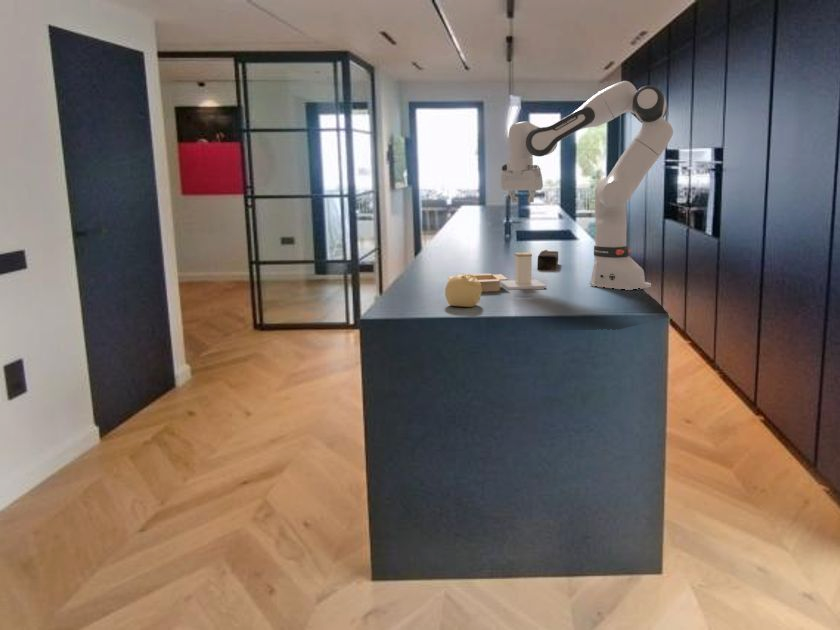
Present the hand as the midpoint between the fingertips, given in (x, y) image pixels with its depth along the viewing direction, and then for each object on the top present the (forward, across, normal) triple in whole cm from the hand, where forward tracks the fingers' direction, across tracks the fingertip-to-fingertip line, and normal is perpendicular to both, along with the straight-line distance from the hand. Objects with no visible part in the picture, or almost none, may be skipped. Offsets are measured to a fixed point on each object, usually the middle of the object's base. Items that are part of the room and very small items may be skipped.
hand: (522, 202), depth 289 cm
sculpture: (+30, -26, +50) cm, 64 cm away
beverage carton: (+30, +17, -28) cm, 45 cm away
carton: (+30, -6, +28) cm, 41 cm away
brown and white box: (+29, -12, +11) cm, 33 cm away
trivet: (+30, -12, +11) cm, 34 cm away
